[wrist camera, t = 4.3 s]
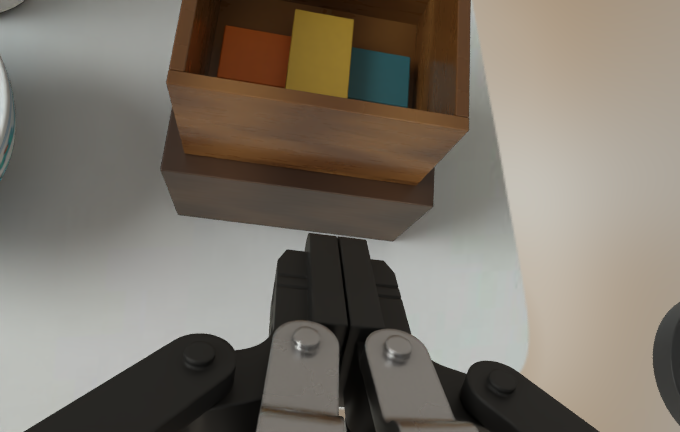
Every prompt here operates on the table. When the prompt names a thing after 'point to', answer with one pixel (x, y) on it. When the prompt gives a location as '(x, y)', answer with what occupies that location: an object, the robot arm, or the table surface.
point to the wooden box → (323, 110)
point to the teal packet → (379, 77)
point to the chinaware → (6, 119)
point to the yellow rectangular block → (320, 54)
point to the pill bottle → (9, 4)
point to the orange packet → (254, 56)
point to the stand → (290, 195)
